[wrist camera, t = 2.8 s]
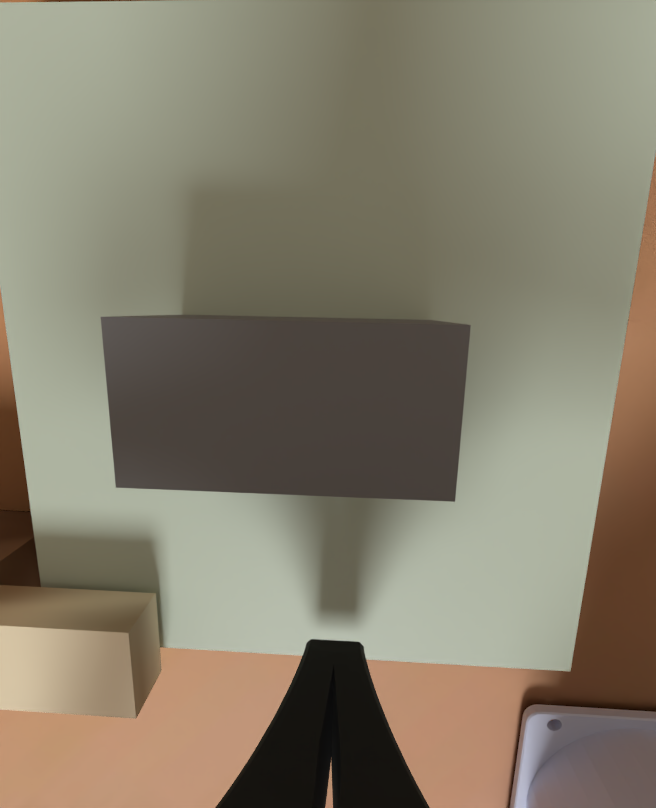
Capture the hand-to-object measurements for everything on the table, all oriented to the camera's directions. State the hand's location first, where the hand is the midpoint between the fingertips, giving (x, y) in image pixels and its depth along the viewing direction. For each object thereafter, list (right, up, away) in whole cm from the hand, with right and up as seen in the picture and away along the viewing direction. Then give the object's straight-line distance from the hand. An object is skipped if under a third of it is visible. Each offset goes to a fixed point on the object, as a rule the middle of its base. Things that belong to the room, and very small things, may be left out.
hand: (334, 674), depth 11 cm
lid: (-1, +8, +1) cm, 8 cm away
